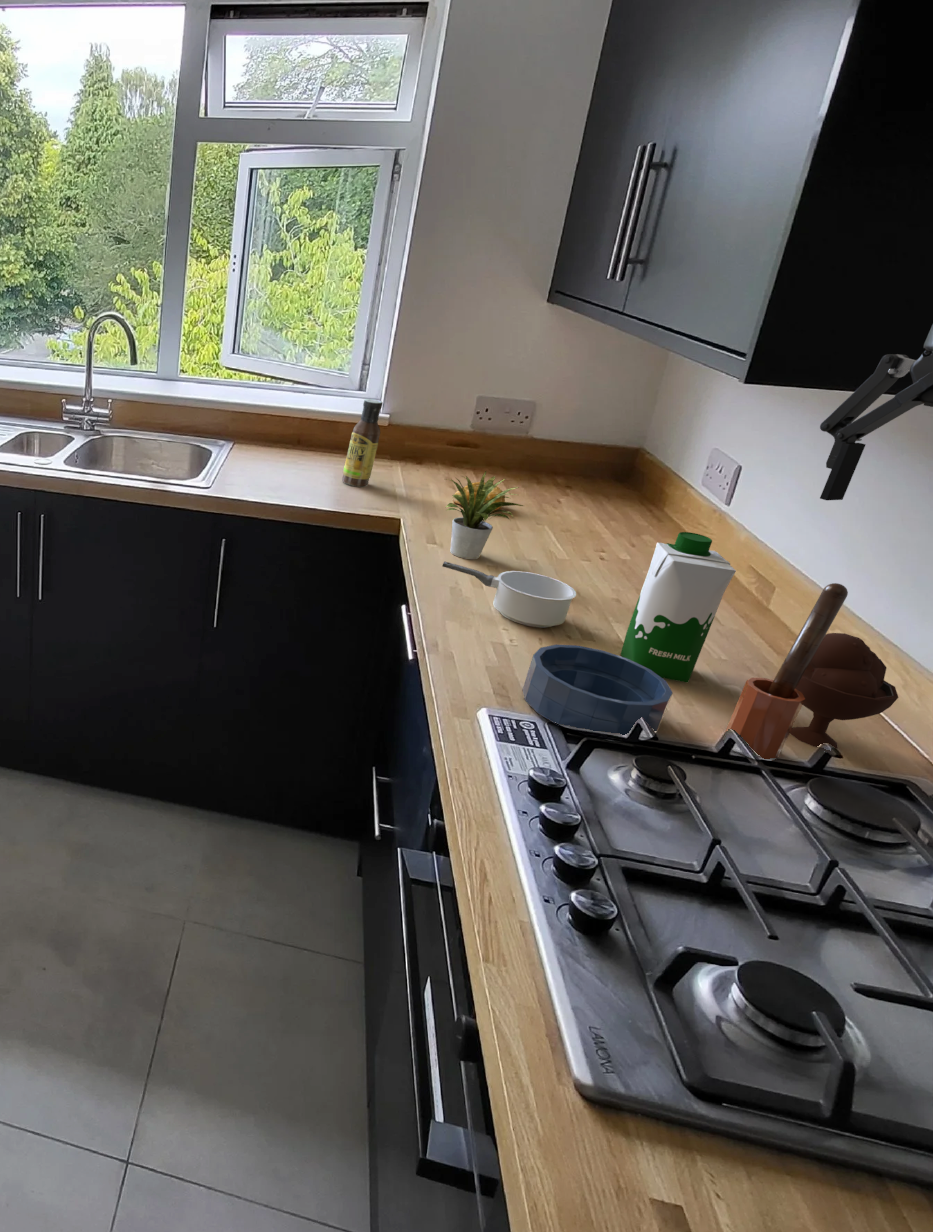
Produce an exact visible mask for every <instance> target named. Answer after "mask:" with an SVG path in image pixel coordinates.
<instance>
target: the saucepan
mask: <svg viewBox="0 0 933 1232" xmlns="http://www.w3.org/2000/svg"><path fill="white" fill-rule="evenodd" d="M442 568H446V569H450V570H453V571H456V572H459V573H463V574H466V575H469V576H473V577H474V578H476V579H477V580H479V581H480V582H481V584H483V585H484V586H486V587H489V588H493V589H496V590H495V596H494V598H493V602H492V605H493V608H495V609H496V610H497V611H498V612H499V613H500V614H501V615H502V616H503V617H505V618H506V619H508V620H510V621H512V622H513V623H517V624H520V625H523V626H526V627H527V626H528V627H533V628H542V629H543V628H545V629H546V628H551V627H554V626H559V625H562V624H564V623H565V622H566V618H567V616H568V612H569V609H570V606H571V603H572V601H573V598H575V597H576V596H577V591H576V590H575V589H574V588H573V587H572V586H570V585H569V584H567V583H566V582H564V581H561V580H559V579H556V578H554V577H551V576H547V575H543V574H540V573H535V572H529V571H521V570H510V571H509V570H507V571H502V572H500V573H499V574H498V575H497V576H495V575H491V574H486V573H484V572H482V571H480V570H476V569H473V568H470V567H467V566H463V565H459V564H456V563H452V562H448V561H443V563H442Z"/></svg>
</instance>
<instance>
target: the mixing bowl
mask: <svg viewBox="0 0 933 1232" xmlns="http://www.w3.org/2000/svg"><path fill="white" fill-rule="evenodd" d="M522 693H523V694H522V695H523V698H524V701H525V702H526V703H527V704H528V705H529V706H530V707H531V708H532V709H533V710H534V711H535V713H537V714H538V715H539V716H541V717H544V718H545V719H547V720H548V719H549V721H550V720H551V721H550V722H552V721H553V722H552V723H554V722H556V723H558V724H564V725H570V726H575V727H577V728H585V729H590V730H593V731H605V732H611V733H620V734H622V735H625V734H627V733H629V731H630V730H631V728H632V727H633V725H634V724H635V722H636V721H637V720H638V719H640V718H641V717H643V718H644V719H645V721H646V722H647V723H648V724H649V726H651V728H653V729H654V731H659V730H660V727H661V725H662V722H663V719H664V717H665V714H666V712H667V710H668V707H669V704H670V701H671V698H672V696H673V694H674V693H673V690H672V689H671V687H670V685H669V683H668V682H667V680H666V679H665V678H661V677H660V676H659V675H657V674H656V673H655V672H653V671H652V670H650V669H648V668H646V667H644V666H642V665H640V664H638V663H636V662H634V661H632V660H630V659H627V658H624V657H622V656H621V655H617V654H615V653H612V652H609V651H607V650H602V649H597V648H592V647H587V646H581V645H577V644H574V645H573V644H552V645H547V646H542V647H539V649H537V650H536V651H535V652H534V654H533V655H532V658H531V661H530V664H529V667H528V670H527V673H526V677H525V680H524V683H523V686H522Z"/></svg>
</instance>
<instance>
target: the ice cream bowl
mask: <svg viewBox="0 0 933 1232" xmlns="http://www.w3.org/2000/svg"><path fill="white" fill-rule="evenodd" d="M886 671H887V666H886V665H885V663H884V662H883V661H882V659H881V658H879V656H878V655H877V653H875V652H874V651H872V650H871V647H870V646H869V645H867V644H866V642H865V640H863V639H861V638H860V637H857V636H854V635H852V634H849V633H843V632H829V633H826V635H825V636H824V638H823V640H822V642H821V644H820V645H819V647H818V649H817V651H816V652H815V654H814V656H813V658H812V660H811V661H810V663H809V665H808V667H807V668H806V670H805V672H804V674H803V676H802V677H801V679H800V681H799V683H798V684H797V686H796V688H795V689H796V690H798V691H800V692H801V693H802V694H803V695H804V697H805V701H804V703H803V705H802V706H803V707H805V708H806V709H808V710H809V711H811V712H812V714H813V715H812V716H813V717H812V719H811V720H810V722H809V724H808V726H793V727H792V729H791V731H790V733H789V735H790V736H792V737H794V739H796V740H797V741H799V742H801V743H804V744H806V745H809V746H811V747H813V748H818V747H817V746H819V745H820V744H823V743H829V744H831V745H832V746H834V747H835V749H838V748H839V746H838V742H837V741H836V740H835V739H834V738H832V736H830V734H828V733H827V730H828V728H829V725H830V723H832V722H833V721H834V720H839V721H850V720H851V721H852V720H858V719H864V718H868V717H871V716H876V715H880V714H881V713H883V712H885V711H887V710H888V709H889V708H891V707H892V706H893V705H894V704H895V702H896V701H898V699H899V695H898V692H897V688H896V686H895V685H893V684H891V683H889V682H888V681H886V680H885V677H886ZM835 749H834V750H835Z"/></svg>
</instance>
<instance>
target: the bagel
mask: <svg viewBox="0 0 933 1232" xmlns="http://www.w3.org/2000/svg"><path fill="white" fill-rule="evenodd" d="M471 483H472V485H473V488H474V498H475V499H476V494H477V490H478V487H479V484H480V481H477V482H476V481H475V482H471ZM485 483H486V482H485V481H484V485H485ZM461 488H462V487H461ZM463 488H464V490H465V492H466V496H467V501H468V506H469V489H468V486H467V485H465V486H463ZM463 488H462V489H463ZM464 490H463V491H464ZM503 491H504V490H502V489H501V488H500V487H499V486H498V485H497V486H496V487H495V488H494V489H493V490H492V491H491V492H490V493H489V494H488V496H487V497H486V499H485V501H486V500H490V499H492V498H494V497H495V496H496V495H498V494H500V493H501V492H503ZM465 492H464V493H465ZM456 494H457V495H460V496H462V495H461V493H460V492H459V490H458V489H457V491H456V492H455V493H454V494H453V495H456ZM501 497H504V498H501ZM501 497H499V499H496V500H495V502H492V503H491V504H493V503H496V502H506V498H505V497H506V495H503V496H501ZM475 499H474V504H475ZM451 500H452V503H453V504H456V505H459V506H462V505H461V503H460V502H459V501H458V500H457V499H456V498H454V497H453V496H452V498H451ZM484 503H486V502H484ZM491 504H490V505H491ZM501 508H502V507H498V508H496V509H495V510H494V511H496V510H500V509H501ZM494 511H493V512H494Z"/></svg>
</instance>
